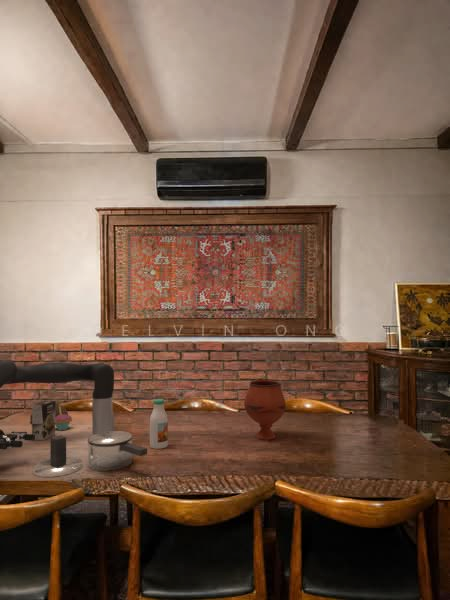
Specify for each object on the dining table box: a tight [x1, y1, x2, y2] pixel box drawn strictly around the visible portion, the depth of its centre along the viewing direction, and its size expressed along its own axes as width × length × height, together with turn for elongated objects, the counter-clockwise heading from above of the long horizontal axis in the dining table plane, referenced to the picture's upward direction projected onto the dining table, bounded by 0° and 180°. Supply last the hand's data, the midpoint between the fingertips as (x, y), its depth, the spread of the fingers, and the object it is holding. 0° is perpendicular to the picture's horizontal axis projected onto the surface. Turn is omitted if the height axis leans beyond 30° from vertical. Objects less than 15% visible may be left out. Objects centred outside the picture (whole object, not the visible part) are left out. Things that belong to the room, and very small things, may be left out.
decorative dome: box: [29, 402, 69, 425], centre depth 227 cm, size 19×20×10 cm
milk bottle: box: [149, 398, 169, 450], centre depth 181 cm, size 8×8×20 cm
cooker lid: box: [32, 435, 83, 478], centre depth 156 cm, size 17×17×12 cm
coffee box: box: [31, 400, 56, 441], centre depth 195 cm, size 9×6×16 cm
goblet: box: [243, 379, 286, 441], centre depth 193 cm, size 19×19×25 cm
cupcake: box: [55, 404, 73, 431], centre depth 209 cm, size 9×8×12 cm
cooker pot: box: [87, 430, 148, 472], centre depth 157 cm, size 16×28×10 cm, turn 52°
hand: (28, 440), depth 157 cm, fingers open, 8 cm apart
